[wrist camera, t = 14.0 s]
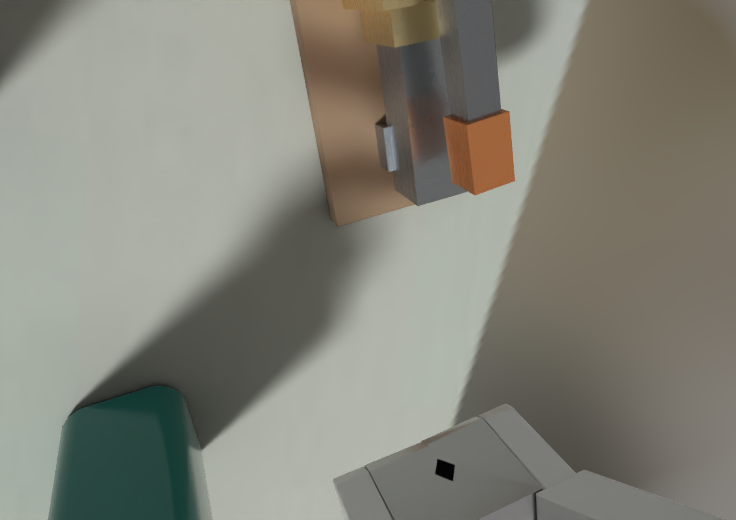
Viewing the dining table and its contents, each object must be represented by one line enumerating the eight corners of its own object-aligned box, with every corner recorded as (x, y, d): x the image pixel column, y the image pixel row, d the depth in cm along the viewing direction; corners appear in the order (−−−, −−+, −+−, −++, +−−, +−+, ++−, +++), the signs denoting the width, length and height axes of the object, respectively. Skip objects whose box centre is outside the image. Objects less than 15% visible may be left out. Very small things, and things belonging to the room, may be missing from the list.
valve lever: (405, -99, 27) (436, -111, 24) (456, -110, 28) (492, -123, 25) (445, 180, 34) (473, 195, 31) (485, 166, 35) (516, 180, 32)
